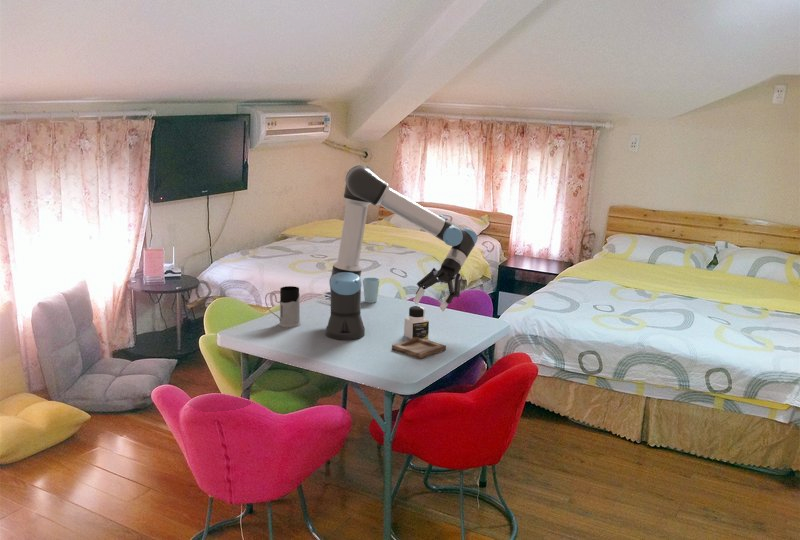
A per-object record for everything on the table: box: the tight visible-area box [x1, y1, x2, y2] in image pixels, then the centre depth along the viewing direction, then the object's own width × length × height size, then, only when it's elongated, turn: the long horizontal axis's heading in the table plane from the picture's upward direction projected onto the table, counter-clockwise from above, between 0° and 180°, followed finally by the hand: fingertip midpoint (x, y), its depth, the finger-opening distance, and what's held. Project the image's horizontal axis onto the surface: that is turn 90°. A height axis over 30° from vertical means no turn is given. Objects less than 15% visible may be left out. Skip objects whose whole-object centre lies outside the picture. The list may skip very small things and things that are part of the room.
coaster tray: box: [391, 337, 447, 360], centre depth 258 cm, size 14×14×2 cm
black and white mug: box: [264, 285, 302, 328], centre depth 282 cm, size 9×14×15 cm, turn 109°
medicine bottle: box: [403, 305, 430, 339], centre depth 272 cm, size 7×7×12 cm
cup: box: [362, 277, 380, 304], centre depth 321 cm, size 8×8×10 cm
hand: (428, 305), depth 274 cm, fingers open, 13 cm apart
